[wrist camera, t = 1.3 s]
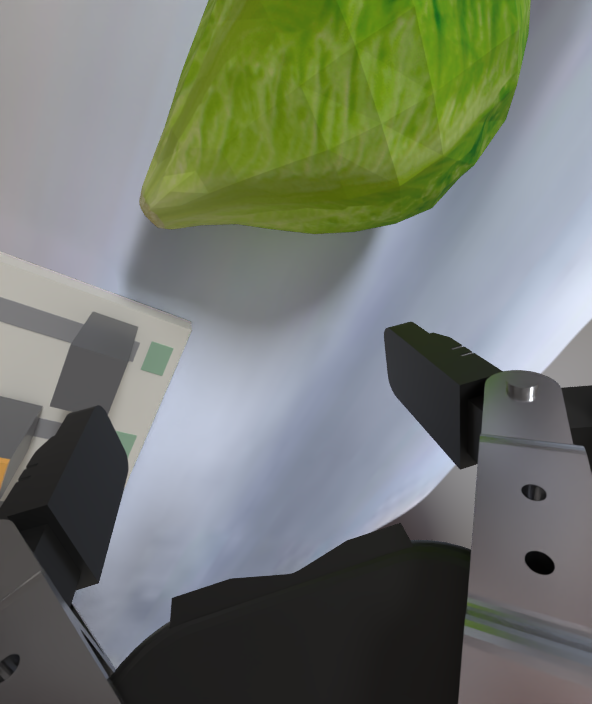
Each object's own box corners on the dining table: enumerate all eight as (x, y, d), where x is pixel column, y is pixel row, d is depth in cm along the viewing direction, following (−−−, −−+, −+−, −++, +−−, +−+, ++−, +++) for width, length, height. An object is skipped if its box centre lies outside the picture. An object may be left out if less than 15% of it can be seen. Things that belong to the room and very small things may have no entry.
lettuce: (238, 290, 33) (125, 106, 28) (496, 149, 29) (422, -99, 24) (198, 362, 19) (-37, 26, 14) (676, 114, 15) (596, -488, 10)
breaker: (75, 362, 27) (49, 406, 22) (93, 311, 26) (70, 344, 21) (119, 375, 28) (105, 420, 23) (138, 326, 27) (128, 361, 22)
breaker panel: (-139, 500, 29) (-160, 521, 27) (-79, 222, 24) (-101, 225, 22) (102, 532, 36) (97, 550, 34) (191, 321, 30) (191, 330, 29)
